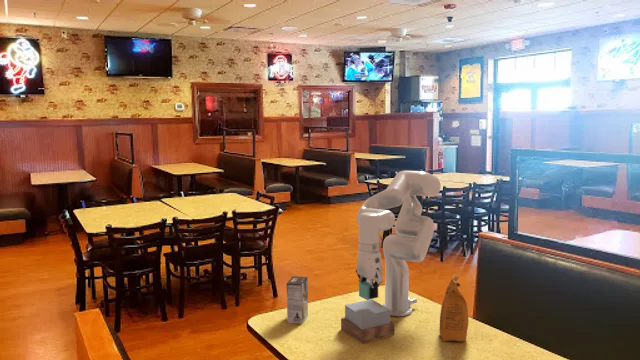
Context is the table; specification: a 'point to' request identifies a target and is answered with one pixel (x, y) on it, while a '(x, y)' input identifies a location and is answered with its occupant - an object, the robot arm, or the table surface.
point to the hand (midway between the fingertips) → (368, 294)
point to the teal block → (365, 290)
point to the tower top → (367, 314)
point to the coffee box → (297, 300)
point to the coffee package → (453, 313)
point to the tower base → (367, 331)
